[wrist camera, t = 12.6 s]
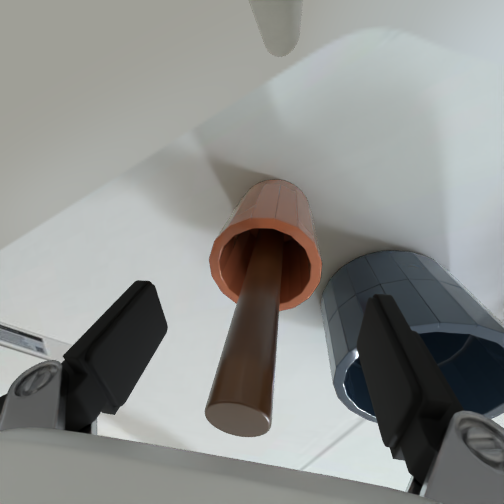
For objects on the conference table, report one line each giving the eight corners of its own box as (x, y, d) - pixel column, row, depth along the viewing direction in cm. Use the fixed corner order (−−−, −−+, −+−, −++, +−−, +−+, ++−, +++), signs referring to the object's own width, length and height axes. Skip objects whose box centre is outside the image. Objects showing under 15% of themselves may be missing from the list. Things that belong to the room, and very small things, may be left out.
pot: (327, 245, 22) (347, 315, 14) (472, 249, 20) (587, 332, 12) (315, 334, 27) (325, 418, 20) (426, 343, 26) (484, 440, 18)
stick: (262, 208, 20) (199, 397, 6) (285, 208, 20) (270, 407, 6) (262, 229, 21) (209, 432, 7) (284, 229, 21) (271, 442, 7)
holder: (237, 179, 20) (201, 217, 12) (313, 178, 19) (328, 218, 11) (242, 245, 23) (216, 308, 15) (307, 247, 22) (316, 315, 14)
